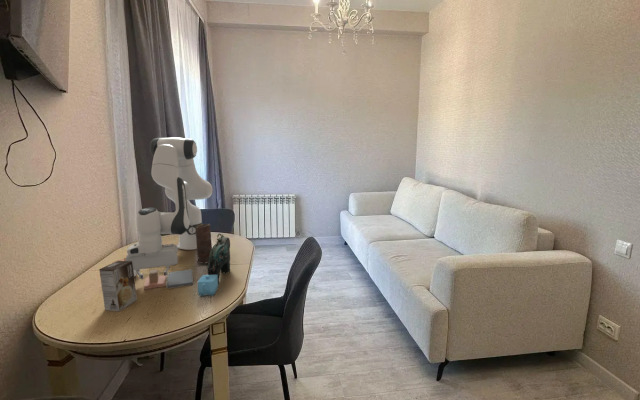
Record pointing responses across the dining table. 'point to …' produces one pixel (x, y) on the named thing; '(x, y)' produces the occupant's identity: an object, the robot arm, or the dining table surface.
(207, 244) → the candle
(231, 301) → the dining table surface
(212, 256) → the teal spotted shape
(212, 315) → the dining table surface
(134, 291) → the coffee box
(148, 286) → the light switch
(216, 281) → the teapot
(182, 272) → the grey ring notebook
